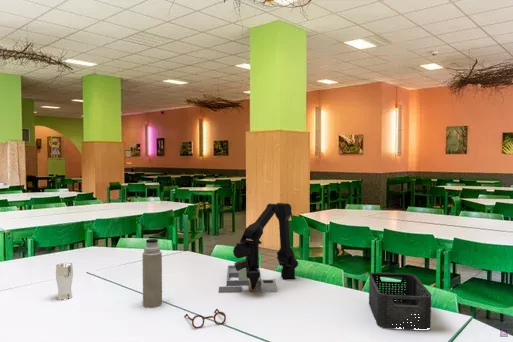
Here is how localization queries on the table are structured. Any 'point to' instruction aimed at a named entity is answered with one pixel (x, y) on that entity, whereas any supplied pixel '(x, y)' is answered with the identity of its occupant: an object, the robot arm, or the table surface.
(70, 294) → the beer glass
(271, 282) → the grey square socket block
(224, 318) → the glasses
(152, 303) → the thermos bottle
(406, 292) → the storage bin
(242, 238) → the robot arm
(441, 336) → the table surface
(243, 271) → the module
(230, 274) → the case
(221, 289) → the mat
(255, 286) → the rod
